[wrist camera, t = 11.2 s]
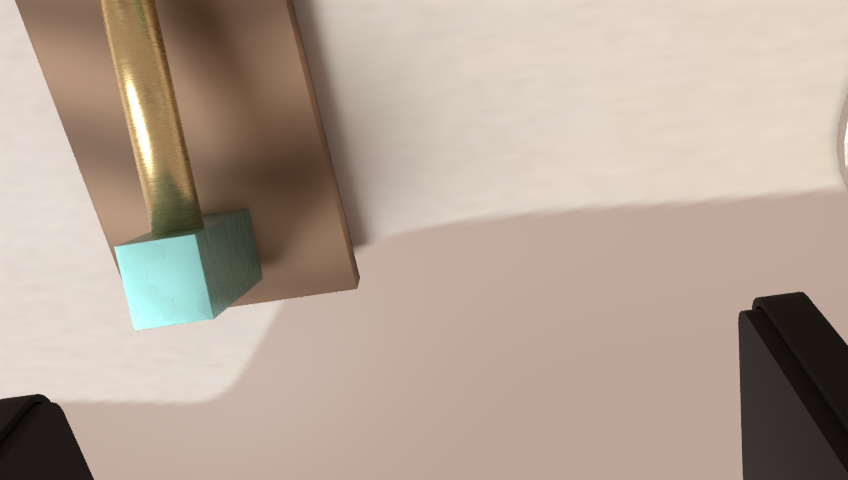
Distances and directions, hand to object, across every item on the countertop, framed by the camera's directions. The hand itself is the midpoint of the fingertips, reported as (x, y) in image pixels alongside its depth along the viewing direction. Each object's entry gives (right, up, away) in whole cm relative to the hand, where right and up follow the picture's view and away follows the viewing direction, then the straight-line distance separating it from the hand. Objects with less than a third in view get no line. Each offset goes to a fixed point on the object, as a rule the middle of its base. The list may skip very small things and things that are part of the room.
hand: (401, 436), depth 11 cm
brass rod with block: (-11, +9, +28) cm, 31 cm away
